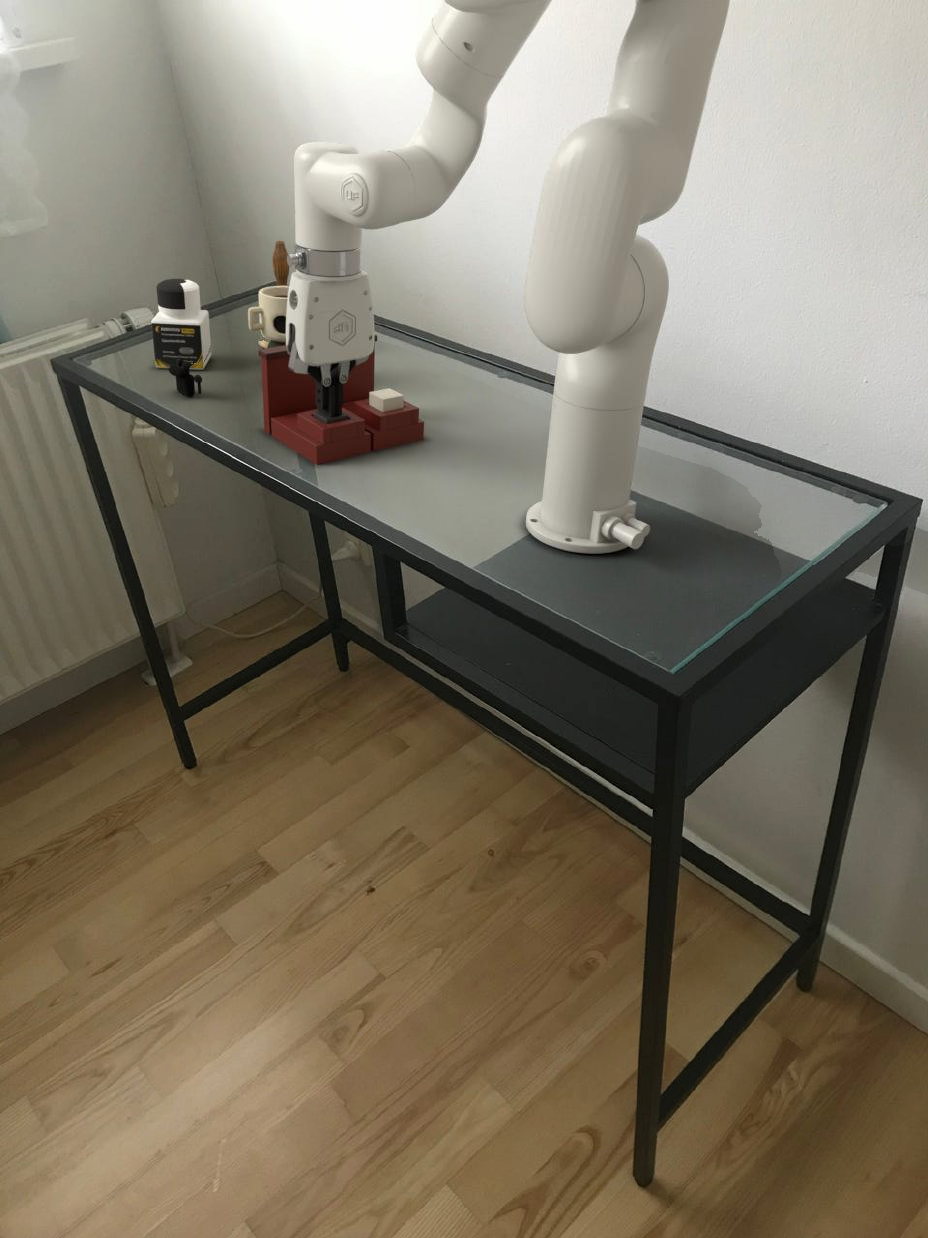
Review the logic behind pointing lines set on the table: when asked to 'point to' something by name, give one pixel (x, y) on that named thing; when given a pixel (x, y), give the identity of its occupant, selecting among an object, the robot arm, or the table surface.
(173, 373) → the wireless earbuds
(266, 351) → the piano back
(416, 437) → the red white-inset block
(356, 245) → the robot arm
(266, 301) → the character mug
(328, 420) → the ebony key
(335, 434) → the red grey-inset block
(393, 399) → the ivory key
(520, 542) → the table surface
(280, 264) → the hand bell
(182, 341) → the medicine bottle
